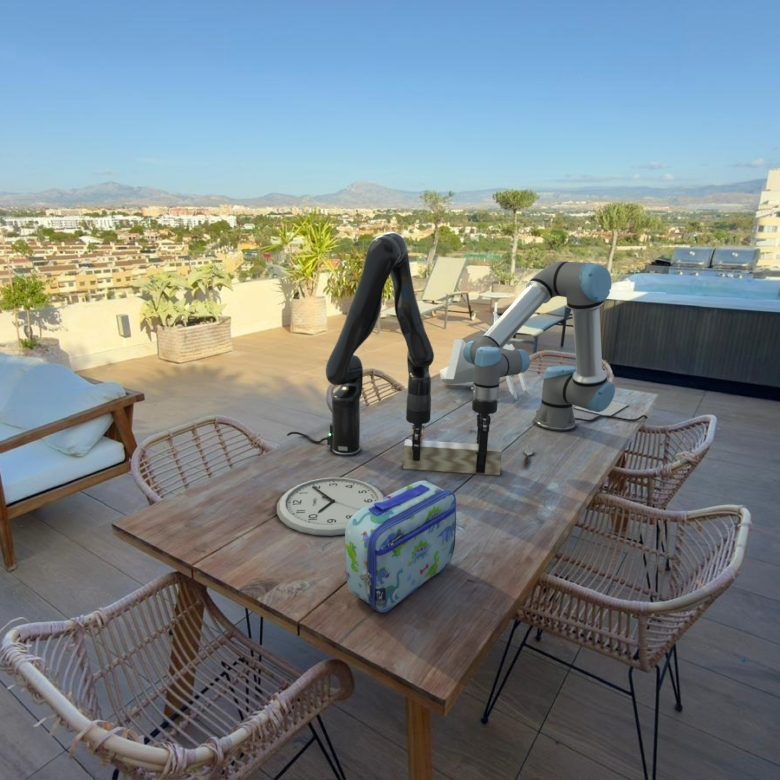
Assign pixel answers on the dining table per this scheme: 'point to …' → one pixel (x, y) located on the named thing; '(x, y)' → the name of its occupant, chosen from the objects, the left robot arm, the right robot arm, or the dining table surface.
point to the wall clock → (325, 504)
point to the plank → (451, 457)
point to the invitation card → (609, 410)
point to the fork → (527, 454)
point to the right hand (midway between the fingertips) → (479, 468)
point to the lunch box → (399, 543)
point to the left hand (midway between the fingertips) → (416, 456)
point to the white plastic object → (472, 367)
